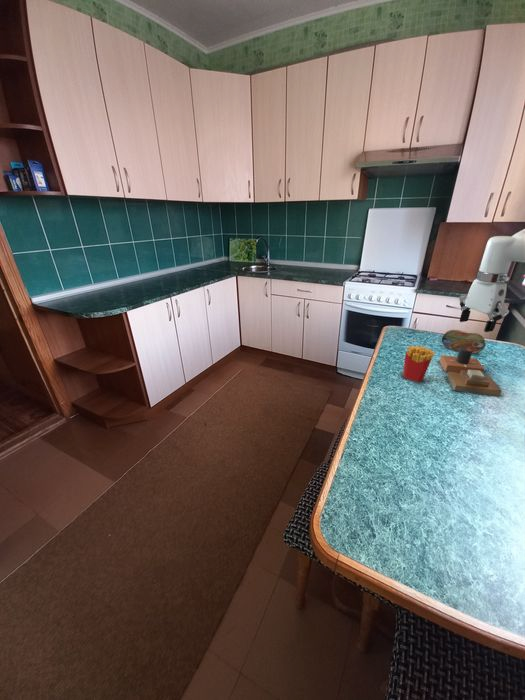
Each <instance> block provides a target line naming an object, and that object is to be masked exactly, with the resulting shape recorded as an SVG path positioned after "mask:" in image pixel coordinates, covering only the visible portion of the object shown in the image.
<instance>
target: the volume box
mask: <svg viewBox="0 0 525 700" xmlns="http://www.w3.org/2000/svg"><path fill="white" fill-rule="evenodd" d="M456 359H457V355H456V356H455V355H445V354H441V356H440V358H439V363H440V365H441V367H442V369H443V371H444V372H445V373H448V372H456V373H460V372H461V370H464V371H468V370H478V371H481V372H482V373H483V374H484V372H485V369H486V368H485V367H484V366H483V364H482V363H481V362H480V361H479V360H478V358H476V357H471V358H470V361H469V363H468V364H461V363H459V362H457V361H456Z"/></svg>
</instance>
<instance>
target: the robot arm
mask: <svg viewBox="0 0 525 700" xmlns="http://www.w3.org/2000/svg"><path fill="white" fill-rule="evenodd" d="M512 262H518V263H525V228H524V229H522V230H520V231H518V232H516V233H515V234H513V235H511V236H510V235H497V236H496V235H495V236H491V237H490V238H489V239H488V240H487V243H486V245H485V248H484V252H483V256H482V259H481V262H480V265H479V269H478V272H477V275H476V278H475V279H474V280H473V281H472V284H471V286H470V288H469V290H468V293H467V294H464V295H461V296H459V298H458V299H459V300H458V301H459V306H460V311H461V314H460V317H459V322H460V323H464V322H468V321H469V319H470V316H471V310H474V311H477V312H479V313H482V314H486V315H487V317H488V319H489V320H487V321H486V323H485V326H484V329H483V332H485V333H490V332H494V330H495V327H496V325H497V322H499V321H500V320H502V319H504V318H505V317H506V316H507V315H508V314H509V313H510V310H509V309H508V308H507V307H506V306H505V305H504V303H505V299H506V295H507V288H508V287H507V285H508V283H507V282H508V281H509V280H510V276H508V273H509V270H510V268H511V265H512Z"/></svg>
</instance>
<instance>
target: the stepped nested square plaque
mask: <svg viewBox="0 0 525 700" xmlns="http://www.w3.org/2000/svg"><path fill="white" fill-rule="evenodd" d="M467 372H468V371H464V370H461V372H460V373H456V372H447V373H446V379H447V380H448V382H449V384H450V386H451V387H452V389H453V391H454V392H461V393H468V394H469V393H470V394H477V395H478V394H479V395H485V396H486V395H487V396H494V397H500V396H501V393H502V390H501V389H502V388H500V387H499V385H498V384H497V382H495V380H494V379H493V378H492V377H491V376H490V375H485V374H484V373H482V374H483V375H484V379H483V380H478V379H470V377H469V376H468V375H467Z"/></svg>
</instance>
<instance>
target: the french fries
mask: <svg viewBox="0 0 525 700" xmlns="http://www.w3.org/2000/svg"><path fill="white" fill-rule="evenodd" d="M434 356H435V351H434V350H432V349H430V348H428V347H426V346H423V345H421V346H418V345H411V346H410V345H408V346H407V351H406V352H405V356H404V365H403V374H402V377H403V378H405V379H406V380H410V381H412V382H413V381H414V382H417V383H420V382H423V380H424V378H425V375H426V373H427V371H428V368H429V365H430V364H431V361H432V359H433V358H434Z"/></svg>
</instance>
